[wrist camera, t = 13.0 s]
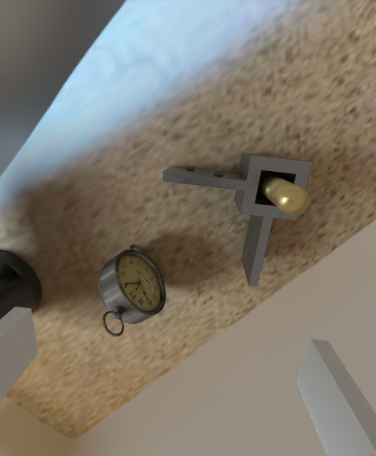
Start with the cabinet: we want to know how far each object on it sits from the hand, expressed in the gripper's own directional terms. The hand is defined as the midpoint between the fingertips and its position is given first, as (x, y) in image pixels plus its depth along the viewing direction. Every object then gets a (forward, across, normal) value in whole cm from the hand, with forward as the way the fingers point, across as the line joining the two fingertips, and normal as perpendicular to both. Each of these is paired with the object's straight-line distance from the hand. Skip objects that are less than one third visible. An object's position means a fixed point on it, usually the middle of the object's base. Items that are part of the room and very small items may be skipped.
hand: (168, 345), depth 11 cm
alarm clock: (+30, -8, -13) cm, 33 cm away
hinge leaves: (+29, +5, 0) cm, 29 cm away
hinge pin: (+29, +11, +5) cm, 31 cm away
